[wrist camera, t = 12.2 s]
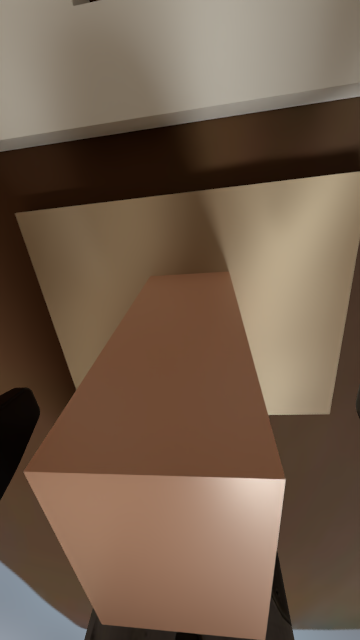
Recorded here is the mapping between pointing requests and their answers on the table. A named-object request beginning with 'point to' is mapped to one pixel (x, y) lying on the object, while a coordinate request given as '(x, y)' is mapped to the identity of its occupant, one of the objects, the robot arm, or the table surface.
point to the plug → (169, 468)
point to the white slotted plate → (166, 63)
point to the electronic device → (277, 634)
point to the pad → (213, 256)
